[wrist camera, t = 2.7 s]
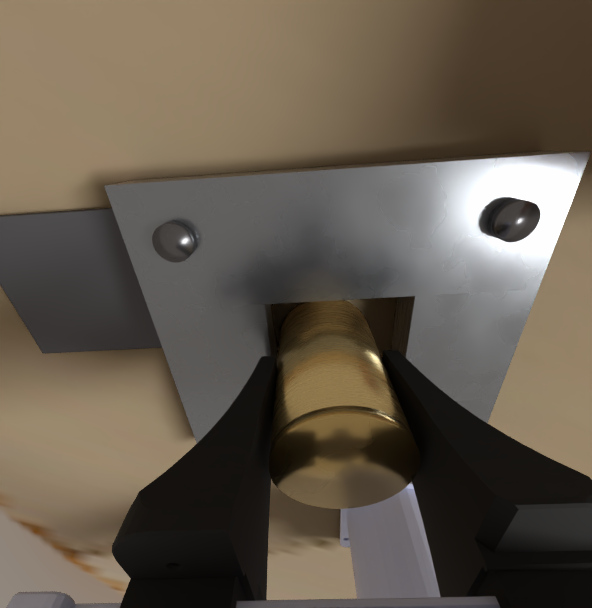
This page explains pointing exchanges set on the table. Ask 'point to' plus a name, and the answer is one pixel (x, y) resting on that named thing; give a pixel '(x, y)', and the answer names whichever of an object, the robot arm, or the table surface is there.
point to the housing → (347, 262)
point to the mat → (74, 281)
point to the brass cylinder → (337, 413)
